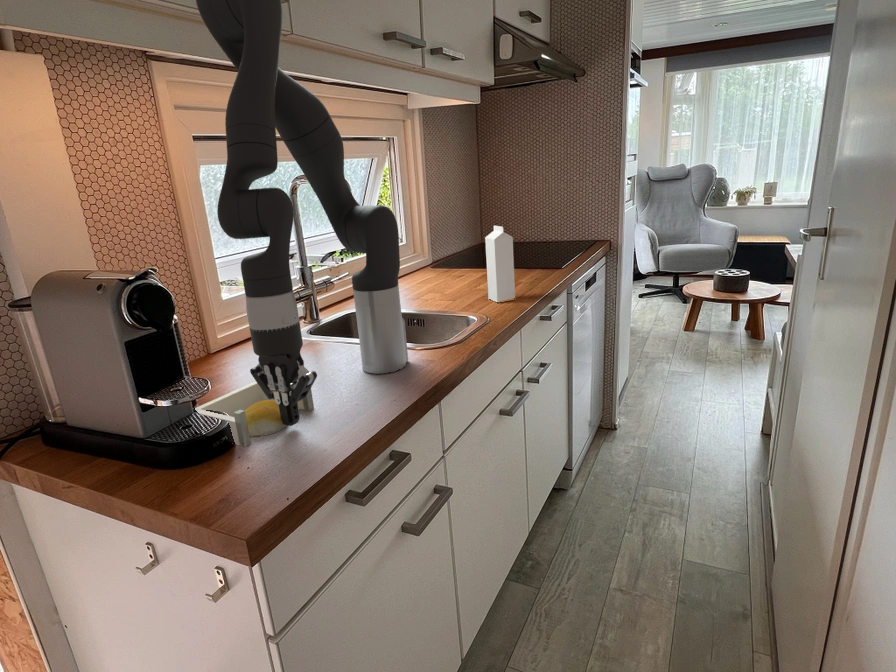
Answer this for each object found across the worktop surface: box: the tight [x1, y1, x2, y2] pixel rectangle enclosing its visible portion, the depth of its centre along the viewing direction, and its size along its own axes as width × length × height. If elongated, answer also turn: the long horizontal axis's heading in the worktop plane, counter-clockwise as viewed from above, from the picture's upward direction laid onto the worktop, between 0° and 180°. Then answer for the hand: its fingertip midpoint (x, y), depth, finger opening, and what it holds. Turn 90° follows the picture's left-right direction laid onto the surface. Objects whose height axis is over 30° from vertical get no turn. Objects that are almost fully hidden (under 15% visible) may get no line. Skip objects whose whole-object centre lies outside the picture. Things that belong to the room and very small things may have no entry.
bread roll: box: [244, 400, 287, 437], centre depth 95 cm, size 8×9×4 cm
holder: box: [194, 380, 315, 447], centre depth 96 cm, size 15×13×6 cm
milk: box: [484, 225, 516, 302], centre depth 165 cm, size 6×6×22 cm
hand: (291, 423), depth 92 cm, fingers closed
